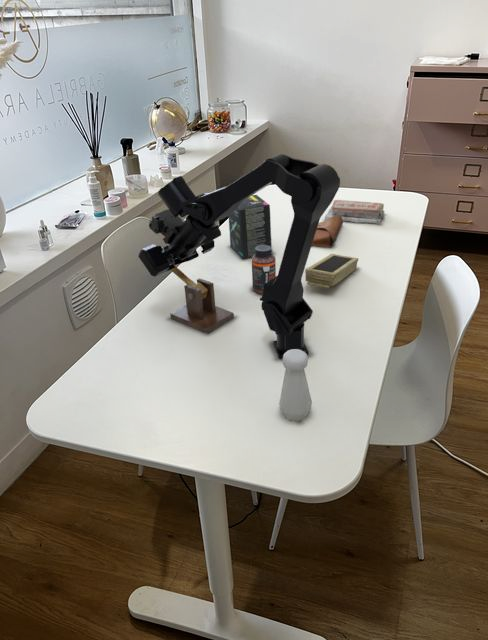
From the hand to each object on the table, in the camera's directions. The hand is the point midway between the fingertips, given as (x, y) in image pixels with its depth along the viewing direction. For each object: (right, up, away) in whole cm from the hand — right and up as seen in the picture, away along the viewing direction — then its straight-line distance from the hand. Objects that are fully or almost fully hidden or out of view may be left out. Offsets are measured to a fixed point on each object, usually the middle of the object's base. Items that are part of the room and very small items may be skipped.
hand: (163, 267), depth 133 cm
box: (+42, -1, +15) cm, 45 cm away
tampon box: (+20, +10, +32) cm, 39 cm away
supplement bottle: (+24, -4, +11) cm, 27 cm away
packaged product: (+54, +24, +53) cm, 79 cm away
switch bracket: (+9, -12, -1) cm, 15 cm away
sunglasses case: (+43, +15, +40) cm, 60 cm away
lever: (+4, -4, -2) cm, 6 cm away
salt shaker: (+29, -31, -31) cm, 53 cm away
